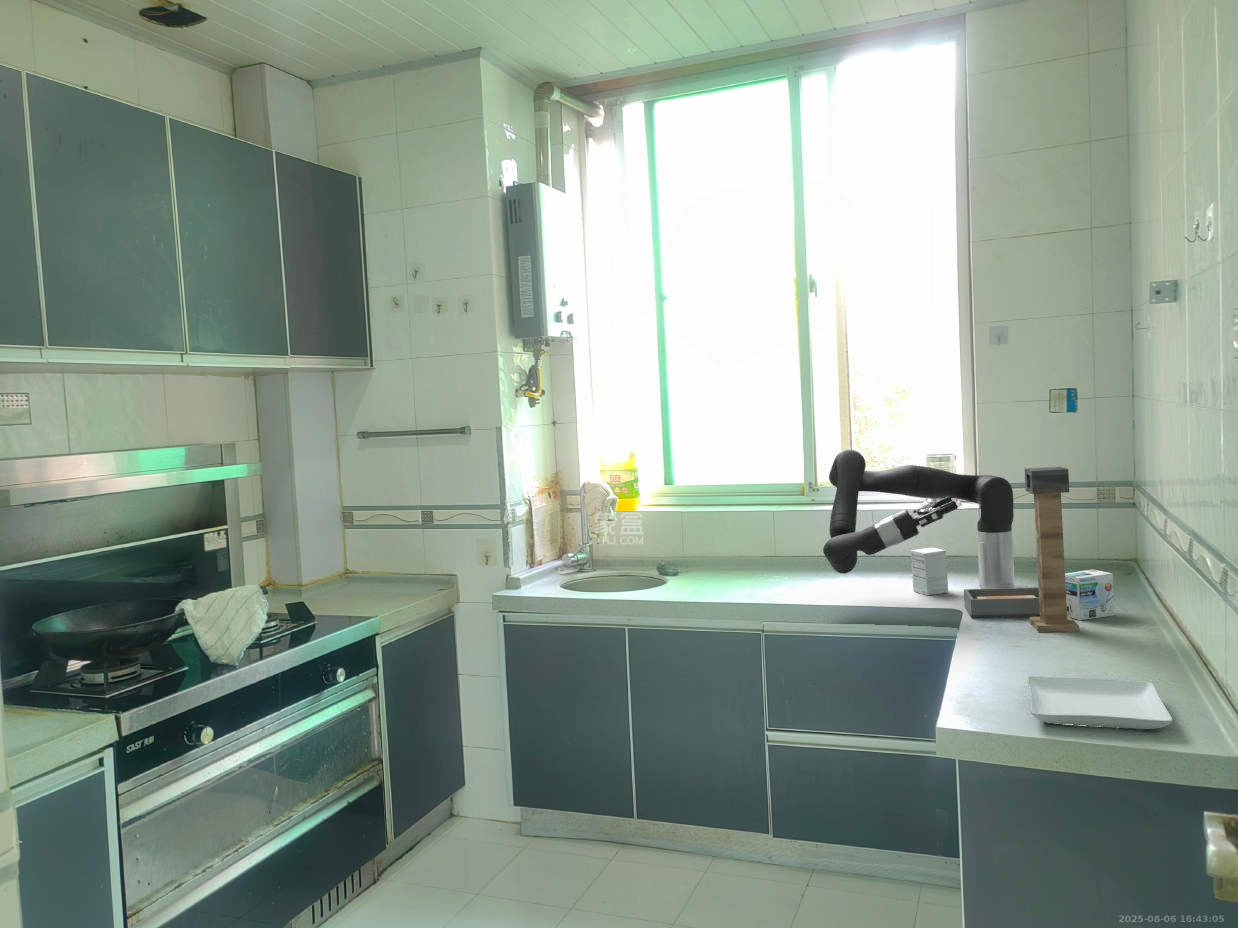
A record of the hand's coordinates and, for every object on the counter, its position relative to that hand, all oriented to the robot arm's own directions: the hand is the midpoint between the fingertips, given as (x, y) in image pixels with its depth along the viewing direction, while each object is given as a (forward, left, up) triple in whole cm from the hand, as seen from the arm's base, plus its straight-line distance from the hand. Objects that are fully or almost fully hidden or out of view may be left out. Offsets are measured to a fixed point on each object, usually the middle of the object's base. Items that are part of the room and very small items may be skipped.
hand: (953, 501), depth 236 cm
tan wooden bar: (+4, +11, -29) cm, 31 cm away
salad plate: (+75, -20, -30) cm, 84 cm away
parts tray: (+4, +11, -30) cm, 32 cm away
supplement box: (-28, +7, -30) cm, 41 cm away
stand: (+22, +11, -30) cm, 39 cm away
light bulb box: (+16, +25, -30) cm, 43 cm away
